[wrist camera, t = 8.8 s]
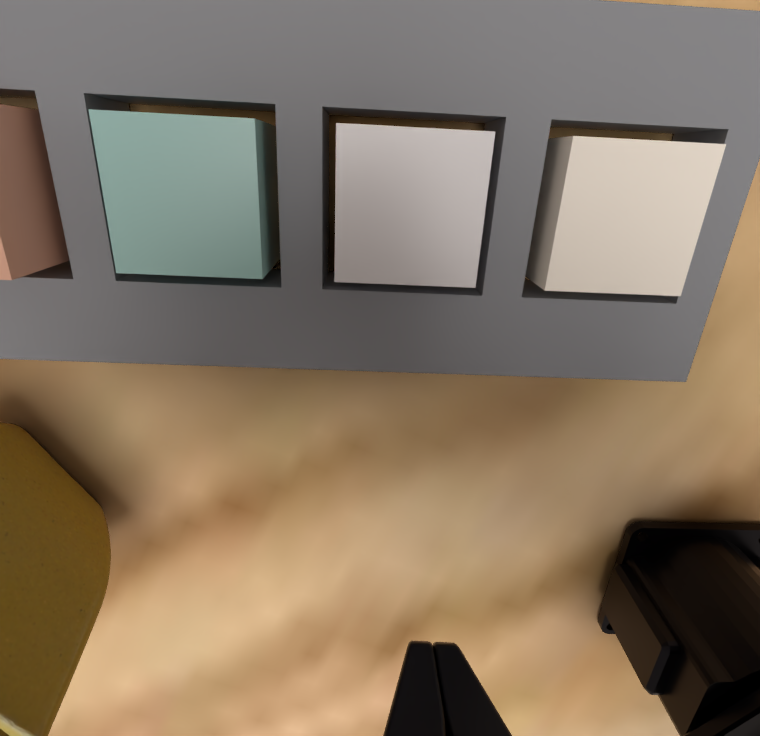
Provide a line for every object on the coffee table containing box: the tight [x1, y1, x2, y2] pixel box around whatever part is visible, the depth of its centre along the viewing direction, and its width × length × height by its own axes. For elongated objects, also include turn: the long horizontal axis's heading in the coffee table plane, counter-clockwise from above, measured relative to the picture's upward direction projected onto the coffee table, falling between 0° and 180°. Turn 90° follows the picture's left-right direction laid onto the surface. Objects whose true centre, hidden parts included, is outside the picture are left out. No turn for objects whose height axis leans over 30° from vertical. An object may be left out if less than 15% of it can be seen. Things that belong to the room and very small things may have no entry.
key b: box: [334, 123, 495, 288], centre depth 14 cm, size 4×4×3 cm
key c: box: [89, 109, 280, 279], centre depth 14 cm, size 4×4×3 cm
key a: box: [525, 136, 726, 296], centre depth 14 cm, size 4×4×3 cm
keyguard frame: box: [0, 0, 760, 382], centre depth 15 cm, size 25×10×2 cm, turn 87°
